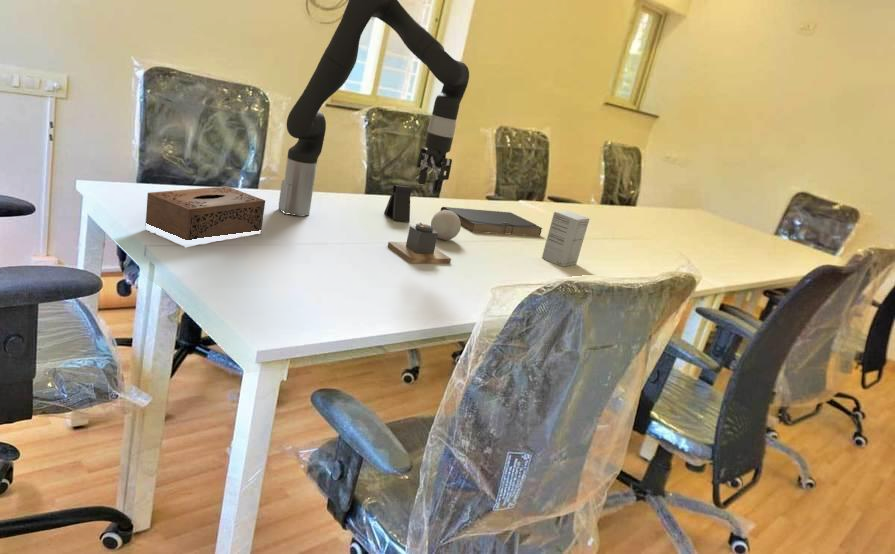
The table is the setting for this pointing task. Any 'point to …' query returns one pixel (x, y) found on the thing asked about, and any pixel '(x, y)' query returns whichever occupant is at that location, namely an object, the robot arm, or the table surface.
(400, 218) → the phone stand
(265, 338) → the table surface
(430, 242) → the knob
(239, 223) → the tissue box cover
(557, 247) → the supplement box
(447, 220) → the eye model
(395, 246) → the base plate
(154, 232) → the table surface
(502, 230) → the file folder
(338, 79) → the robot arm
